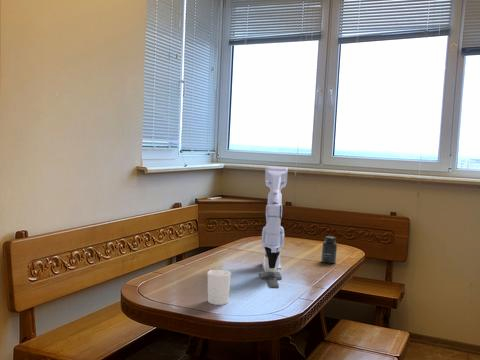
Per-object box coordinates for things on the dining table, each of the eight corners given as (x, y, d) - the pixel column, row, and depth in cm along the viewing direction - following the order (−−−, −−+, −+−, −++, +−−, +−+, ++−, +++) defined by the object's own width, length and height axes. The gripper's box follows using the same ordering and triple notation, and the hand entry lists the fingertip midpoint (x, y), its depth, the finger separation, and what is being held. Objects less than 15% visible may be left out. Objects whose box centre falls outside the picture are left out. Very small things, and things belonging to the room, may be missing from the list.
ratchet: (260, 274, 204) (260, 264, 204) (279, 274, 205) (279, 264, 204) (263, 287, 185) (264, 276, 185) (284, 287, 186) (285, 276, 185)
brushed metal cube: (263, 268, 203) (264, 254, 202) (276, 268, 203) (276, 254, 203) (264, 271, 198) (265, 257, 197) (277, 272, 198) (278, 257, 197)
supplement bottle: (325, 264, 226) (326, 238, 225) (318, 260, 233) (320, 235, 232) (338, 263, 228) (340, 238, 227) (332, 260, 235) (333, 235, 234)
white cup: (229, 298, 170) (230, 270, 169) (229, 306, 162) (231, 276, 161) (206, 297, 170) (207, 269, 169) (205, 305, 162) (207, 275, 161)
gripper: (261, 229, 206) (260, 261, 207) (264, 236, 192) (262, 270, 193) (278, 230, 207) (276, 262, 208) (282, 236, 192) (280, 271, 193)
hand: (271, 266), depth 200 cm, fingers closed on brushed metal cube, 5 cm apart
